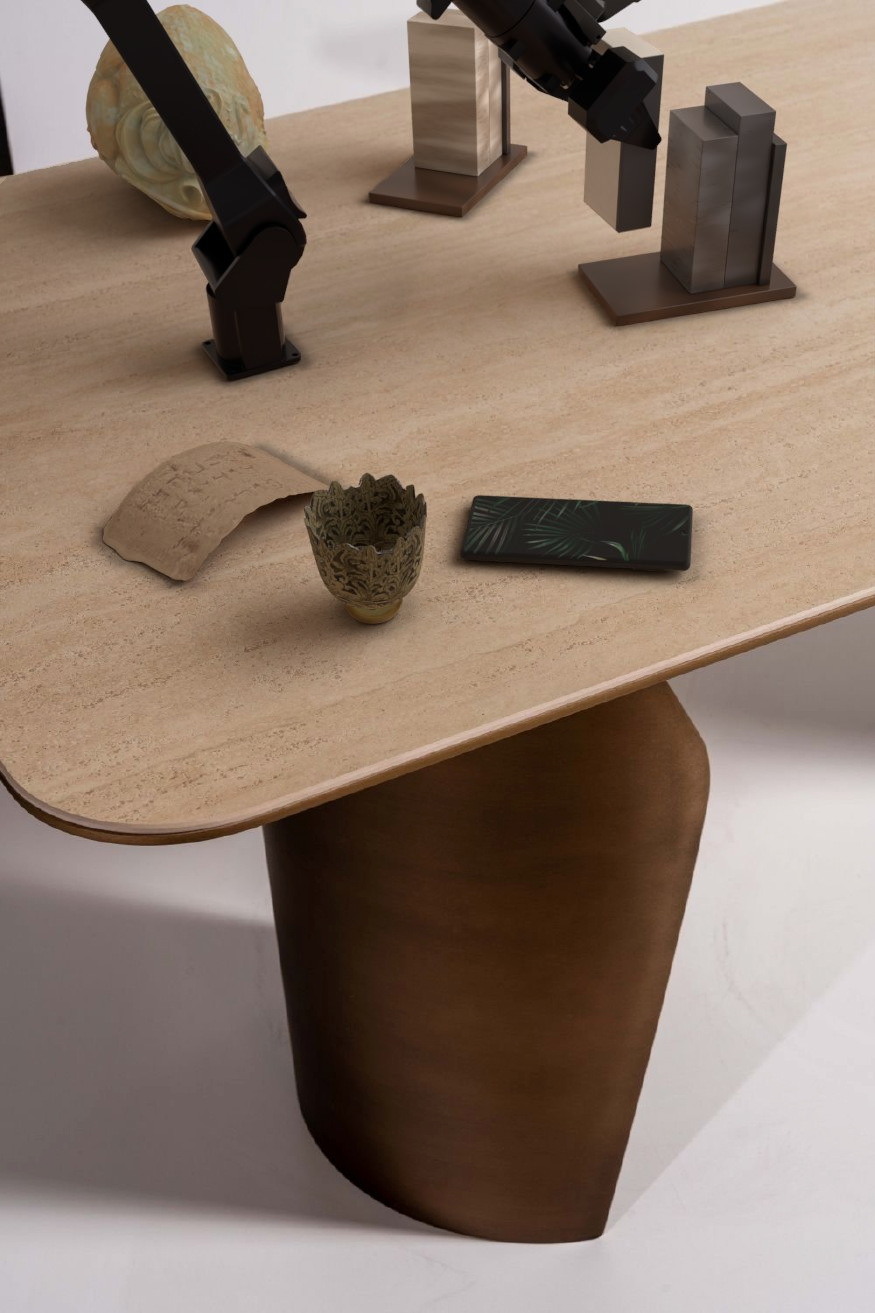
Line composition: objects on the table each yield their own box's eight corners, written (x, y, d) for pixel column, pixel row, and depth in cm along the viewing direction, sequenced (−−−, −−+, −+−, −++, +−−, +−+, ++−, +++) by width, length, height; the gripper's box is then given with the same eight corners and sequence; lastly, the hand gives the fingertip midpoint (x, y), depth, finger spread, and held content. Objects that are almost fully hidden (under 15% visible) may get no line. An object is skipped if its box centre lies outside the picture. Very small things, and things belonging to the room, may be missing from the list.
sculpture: (46, 226, 139) (143, 201, 124) (44, 11, 137) (143, -41, 121) (201, 247, 150) (308, 226, 135) (202, 49, 148) (312, 5, 132)
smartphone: (473, 493, 98) (693, 503, 96) (473, 505, 99) (692, 515, 96) (458, 552, 93) (690, 564, 91) (459, 564, 94) (689, 576, 91)
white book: (618, 234, 117) (628, 58, 107) (582, 201, 122) (590, 31, 113) (651, 227, 117) (664, 52, 108) (615, 195, 122) (624, 26, 113)
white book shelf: (462, 217, 134) (457, 53, 124) (368, 202, 138) (357, 42, 128) (527, 155, 145) (527, 0, 135) (439, 142, 149) (433, -10, 139)
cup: (330, 658, 87) (318, 554, 82) (304, 588, 92) (291, 486, 87) (446, 633, 88) (441, 528, 83) (415, 565, 94) (408, 463, 88)
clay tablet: (190, 591, 92) (183, 558, 91) (93, 534, 98) (85, 502, 96) (344, 492, 100) (341, 460, 99) (247, 445, 106) (242, 413, 104)
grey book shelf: (616, 326, 117) (625, 140, 107) (577, 274, 124) (582, 95, 114) (795, 296, 120) (821, 112, 110) (747, 247, 127) (766, 70, 117)
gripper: (641, -59, 96) (765, 83, 106) (534, -118, 110) (653, 13, 120) (532, 77, 100) (662, 202, 109) (442, 3, 113) (565, 121, 123)
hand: (636, 128), depth 115 cm, fingers closed on white book, 7 cm apart
